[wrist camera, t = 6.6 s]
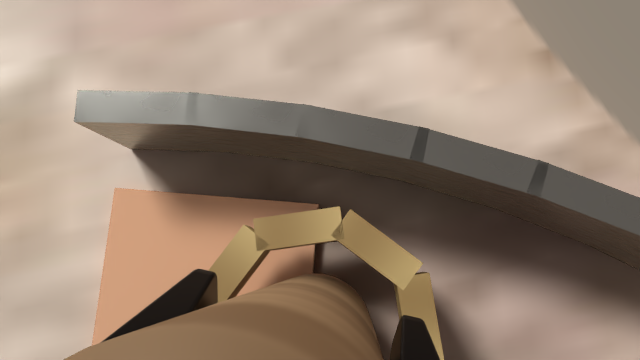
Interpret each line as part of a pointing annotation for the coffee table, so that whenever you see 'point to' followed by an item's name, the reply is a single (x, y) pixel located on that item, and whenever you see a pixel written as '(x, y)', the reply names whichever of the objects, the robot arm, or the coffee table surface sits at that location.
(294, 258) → the tile
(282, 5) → the coffee table surface
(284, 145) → the gray curved bar
